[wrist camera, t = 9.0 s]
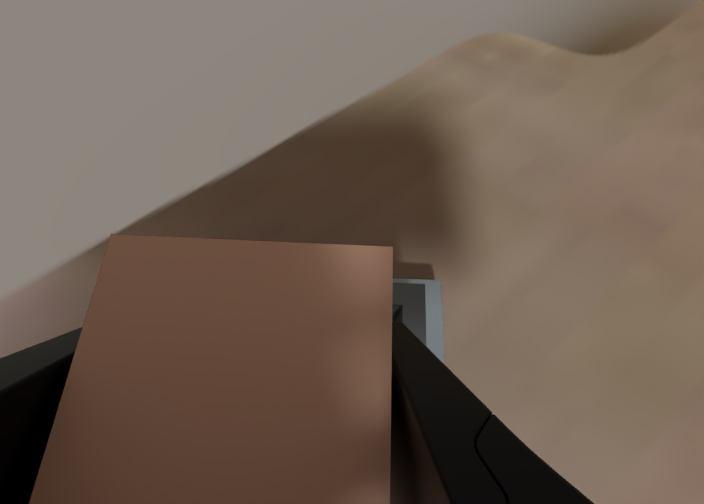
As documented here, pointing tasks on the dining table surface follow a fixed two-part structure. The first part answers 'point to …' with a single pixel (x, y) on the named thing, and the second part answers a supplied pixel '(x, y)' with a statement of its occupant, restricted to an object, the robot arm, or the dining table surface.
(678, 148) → the dining table surface
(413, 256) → the dining table surface
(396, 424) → the robot arm
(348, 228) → the dining table surface
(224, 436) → the terracotta block
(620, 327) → the dining table surface
